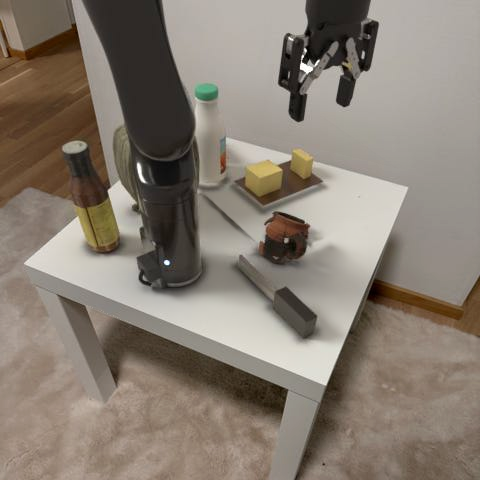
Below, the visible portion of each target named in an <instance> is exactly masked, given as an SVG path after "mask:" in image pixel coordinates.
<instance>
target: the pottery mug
mask: <svg viewBox="0 0 480 480" xmlns="http://www.w3.org/2000/svg"><path fill="white" fill-rule="evenodd" d="M263 226H266V227H265V235H264V241H263V240H260V241H259V243H258V253H259V254H260V255H261V256H263V258H265V259H267V260H269V261H271V262H273V263H275V264H282V263H283V260H284V259H285V258H286V259H287V260H288V261H290V262H291V261H292V262H293V261H294V260H295V261H296V260H299V259H301V258H302V257H303V256H305V254H306V252H307V249H308V248H307V247H308V244H307V240H308V238H309V234H310V232H309V229H310V228H311V224H310V223H308V222H306V221H305V220H304V219H301V218H299V217H297V216H295V215H292V214H289V213H287V212H282V211H273V212H272V216H271V217H270V218H268V219H267V220H266V221H265V222H264V224H263ZM285 238H286V239H287V242H285V240H286V239H285Z"/></svg>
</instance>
